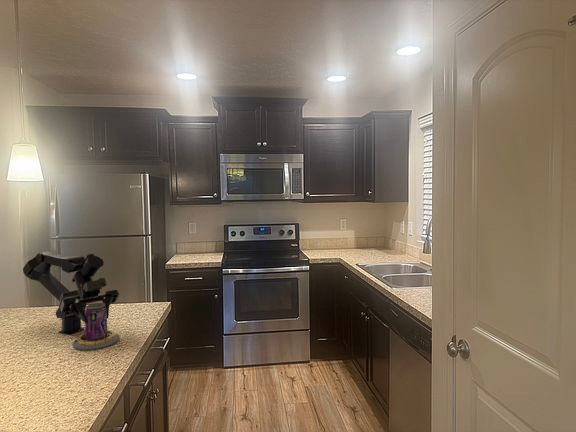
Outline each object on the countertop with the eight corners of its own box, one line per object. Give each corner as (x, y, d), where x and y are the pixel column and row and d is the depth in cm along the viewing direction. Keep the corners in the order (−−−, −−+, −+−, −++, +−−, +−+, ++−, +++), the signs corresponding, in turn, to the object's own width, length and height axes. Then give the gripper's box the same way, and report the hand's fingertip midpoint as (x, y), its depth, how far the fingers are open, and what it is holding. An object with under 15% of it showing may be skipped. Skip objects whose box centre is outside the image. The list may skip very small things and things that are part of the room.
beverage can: (98, 343, 134) (97, 308, 134) (80, 341, 136) (79, 307, 135) (111, 336, 141) (110, 303, 141) (94, 334, 142) (93, 302, 142)
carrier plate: (62, 347, 134) (62, 339, 134) (98, 332, 148) (98, 326, 148) (94, 353, 129) (94, 345, 128) (128, 337, 142) (128, 331, 142)
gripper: (61, 275, 133) (73, 313, 126) (116, 268, 146) (129, 302, 139) (55, 293, 139) (66, 331, 132) (109, 285, 152) (121, 318, 145)
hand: (97, 320), depth 137 cm, fingers closed on beverage can, 7 cm apart
